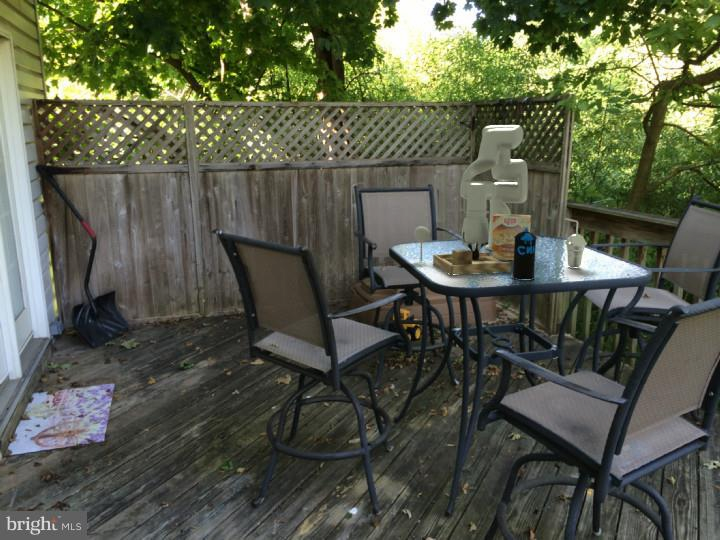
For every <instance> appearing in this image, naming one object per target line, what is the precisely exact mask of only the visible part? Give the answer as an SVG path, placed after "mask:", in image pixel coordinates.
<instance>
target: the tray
mask: <svg viewBox="0 0 720 540" xmlns="http://www.w3.org/2000/svg"><path fill="white" fill-rule="evenodd" d="M490 254H491V253H490V251H482V252H480V251H479V258H478V260H475V261H474V260H472V264H465V265H453V264H452V253H445V254H443V253H442V254H432V257H433V258H432V264H433V265H434V266H435V265H436V267H437V268H438V267H439V268H438V269H440V270H441V269H442V270H441V271H443V270H444V271H445V272H444V271H443V272H444V273H446V272H447V273H449V274H450V275H453V274H473V273H491V274H494V273H493V272H507V273H509V272H508V271H512V269H511V268H512V261H506V262H505V261H502V260H497V259H495V258H493V257H492V255H490ZM447 273H446V274H447ZM450 275H449V276H450Z"/></svg>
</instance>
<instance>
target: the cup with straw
mask: <svg viewBox="0 0 720 540" xmlns="http://www.w3.org/2000/svg"><path fill="white" fill-rule="evenodd" d="M564 220H565V221H568V222H573V223H576V228H575V233H573V234H571V235H569V236H568V237H567V239H566V240H565V242H564V244H565V246H566V250H567V252H566V253H567V254H566V255H567V265H568V266H570V267H579V266H581V265H582V264H581V263H582V259H583V253H584V250H585V246H587V245H588V243H587V242H586V240H585V238H584V237H583V235H582V234H580V233H579V232H578V231H579V221H578V220H575V219H571V218H566V217H564ZM568 266H567V267H568Z"/></svg>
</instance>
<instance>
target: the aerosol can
mask: <svg viewBox="0 0 720 540" xmlns="http://www.w3.org/2000/svg"><path fill="white" fill-rule="evenodd" d="M528 230H529V226H523V232H520V233H518V234H517V235H516V236H515V237H514V238H515V244H514V261H513V263H512V264H513V267H512V276H513V277H514V278H517V279H532V278H534V279H535V262H536V247H537V238H538V237H537V236H536V235H535V234H534V233H532V232H531V231H530V232H528Z"/></svg>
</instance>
